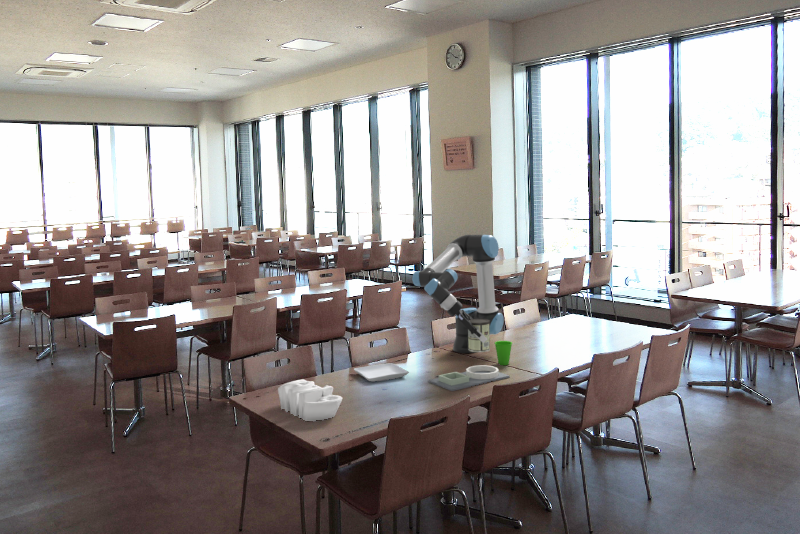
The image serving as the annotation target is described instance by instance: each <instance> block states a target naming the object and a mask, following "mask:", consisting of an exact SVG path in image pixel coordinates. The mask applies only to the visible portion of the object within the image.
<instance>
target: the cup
mask: <svg viewBox="0 0 800 534" xmlns="http://www.w3.org/2000/svg"><path fill="white" fill-rule="evenodd" d="M494 345H495V350H496V351H495V352H496V357H497V363H498V365H499V364H500V366H508V365H510V364H509V363H510V358H511V352H512V345H513V342H512V341H509V340H497V341H495V342H494Z"/></svg>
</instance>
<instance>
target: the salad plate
mask: <svg viewBox="0 0 800 534" xmlns="http://www.w3.org/2000/svg"><path fill="white" fill-rule="evenodd" d="M353 371H354V372H355V373H356V374H358V375H359V376H361V377H363V378H365V379H366V381H368V382H373V383H375V381H377V382H381V381H382V382H384V381H389V379H390V380H394V379H395V378H396V379H400V378H402V377H405V376H407V375H408V374H409V373H410V372H409V371H408V370H407V369H404V368H402V366H401V367H400V366H399V365H397V364H395V363H394V362H389V363H381V364H373V365H367V366H360V367H355V368H353Z"/></svg>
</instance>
